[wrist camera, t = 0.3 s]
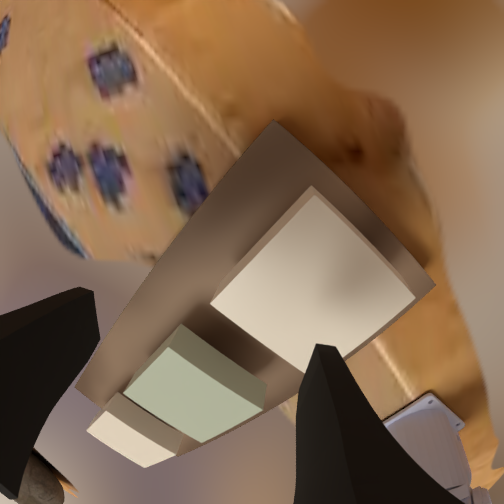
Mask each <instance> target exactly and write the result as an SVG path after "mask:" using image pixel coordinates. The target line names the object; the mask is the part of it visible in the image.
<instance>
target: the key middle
mask: <svg viewBox="0 0 504 504" xmlns="http://www.w3.org/2000/svg"><path fill="white" fill-rule="evenodd" d="M266 386H267V384H266V383H264V382H263V381H261V380H260V379H258V378H257V377H255V376H254V375H252V374H251V373H249V372H248V371H246V370H245V369H243V368H242V367H240V366H239V365H237V364H236V363H235V362H233V361H232V360H230V359H229V358H227V357H226V356H225V355H223V354H222V353H220V352H219V351H218V350H216V349H215V348H213V347H212V346H211V345H209V344H208V343H207V342H205V341H204V340H202V339H201V338H200V337H198V336H197V335H196V334H194V333H193V332H192V331H190V330H189V329H188V328H186V327H185V326H184V325H183V324H180V325H179V326H178V327H177V329H176V330H175V331H174V332H173V333H172V334H171V335H170V336H169V337H168V338H167V339H166V340H165V341H164V342H163V344H162V345H161V346H160V347H159V348H158V349H157V350H156V351H155V352H154V353H153V354H152V355H151V356H150V357H149V359H148V360H147V361H146V362H145V363H144V364H143V365H142V366H141V367H140V368H139V369H138V370H137V371H136V372H135V374H134V376H133V377H132V379H131V381H130V382H129V384H128V386H127V387H126V389H125V391H124V392H123V394H125V395H126V396H127V397H129V398H130V399H132V400H133V401H134V402H136V403H137V404H139V405H140V406H142V407H143V408H145V409H146V410H148V411H149V412H151V413H152V414H154V415H155V416H157V417H158V418H160V419H162V420H163V421H165V422H166V423H168V424H170V425H171V426H173V427H175V428H176V429H178V430H180V431H181V432H183V433H185V434H186V435H188V436H190V437H192V438H194V439H195V440H197V441H199V442H201V443H203V442H205V441H207V440H209V439H211V438H213V437H215V436H217V435H219V434H221V433H223V432H224V431H226V430H228V429H230V428H232V427H234V426H236V425H238V424H239V423H241V422H243V421H245V420H247V419H248V418H250V417H252V416H254V415H255V414H257V413H259V412H261V411H262V410H263V407H264V400H265V393H266Z"/></svg>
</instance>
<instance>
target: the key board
mask: <svg viewBox="0 0 504 504" xmlns="http://www.w3.org/2000/svg"><path fill="white" fill-rule="evenodd" d="M311 185H312V186H313V187H314V188H315V189H316V190H317V191H318V192H319V193H320V194H321V195H323V196H324V197H325V198H326V199H327V200H328V201H329V202H330V203H331V204H332V205H333V206H334V207H335V208H336V209H337V210H338V211H339V212H340V213H341V214H342V215H343V216H344V217H345V218H346V219H347V220H349V221H350V222H351V223H352V224H353V225H354V226H355V227H356V228H357V229H358V230H359V231H360V232H361V233H362V235H363V236H364V237H365V238H366V239H367V240H368V241H369V242H370V243H371V244H372V245H373V246H374V247H375V248H376V249H377V250H378V251H379V252H380V253H381V254H382V255H383V256H384V257H385V258H386V260H387V261H388V262H389V263H390V264H391V265H392V266H393V267H394V268H395V269H396V270H397V271H398V273H399V274H400V275H401V276H402V277H403V279H404V280H405V282H406V283H407V285H408V286H409V288H410V289H411V291H412V293H413V294H414V296H415V297H416V298H415V299H414V300H413V301H412V302H411V303H410V304H408V305H407V306H406V307H405V308H404V309H403V310H402V311H400V312H399V313H398V314H397V315H396V316H395V317H393V318H392V319H391V320H390V321H389V322H388V323H386V324H385V325H384V326H383V327H381V328H380V329H379V330H378V331H377V332H375V333H374V334H373V335H372V336H370V337H369V338H368V339H367V340H365V341H364V342H363V343H361V344H360V345H359V346H357V347H356V348H355V349H354V350H352V351H351V352H350V353H348V354H347V355H346V356H344V357H343V360H344V361H346V360H347V359H348V358H350V357H351V356H352V355H354V354H355V353H356V352H358V351H359V350H360V349H362V348H363V347H364V346H366V345H367V344H368V343H369V342H371V341H372V340H373V339H375V338H376V337H377V336H378V335H380V334H381V333H382V332H383V331H385V330H386V329H387V328H388V327H389V326H391V325H392V324H393V323H394V322H395V321H397V320H398V319H399V318H400V317H401V316H402V315H404V314H405V313H406V312H407V311H408V310H409V309H411V308H412V307H413V306H414V305H415V304H416V303H417V302H418V301H419V300H421V299H422V298H423V297H424V296H425V295H426V294H427V293H428V292H429V291H430V290H431V289H432V288H434V287H435V286H436V284H435V283H434V282H433V280H432V279H431V278H430V277H429V275H428V274H427V273H426V272H425V270H424V269H423V268H422V267H421V266H420V264H419V263H418V262H417V261H416V260H415V258H414V257H413V256H412V255H411V254H410V253H409V251H408V250H407V249H406V248H405V247H404V246H403V244H402V243H401V242H400V241H399V240H398V239H397V238H396V237H395V235H394V234H393V233H392V232H391V231H390V230H389V229H388V228H387V227H386V226H385V224H384V223H383V222H382V221H381V220H380V219H379V218H378V217H377V216H376V215H375V214H374V213H373V212H372V211H371V210H370V208H369V207H368V206H367V205H366V204H365V203H364V202H363V201H362V200H361V199H360V198H359V197H358V196H357V195H356V194H355V193H354V192H353V191H352V190H351V189H350V188H349V187H348V186H347V185H346V184H345V183H344V182H343V181H342V180H341V179H340V178H339V177H338V176H337V175H336V174H334V173H333V172H332V171H331V170H330V169H329V168H328V167H327V166H326V165H325V164H324V163H323V162H322V161H321V160H320V159H318V158H317V157H316V156H315V155H314V154H313V153H312V152H311V151H310V150H309V149H307V148H306V147H305V146H304V145H303V144H302V143H301V142H300V141H298V140H297V139H296V138H295V137H294V136H293V135H292V134H290V133H289V132H288V131H287V130H286V129H285V128H283V127H282V126H281V125H280V124H279V123H277V122H276V121H275V120H274V119H273V120H272V122H271V123H270V124H269V125H268V126H267V127H266V128H265V129H264V131H263V132H262V133H261V134H260V135H259V136H258V137H257V138H256V140H255V141H254V142H253V143H252V144H251V145H250V147H249V148H248V149H247V150H246V151H245V152H244V154H243V155H242V156H241V157H240V158H239V159H238V161H237V162H236V163H235V164H234V165H233V166H232V168H231V169H230V170H229V171H228V172H227V174H226V175H225V176H224V177H223V179H222V180H221V181H220V182H219V183H218V185H217V186H216V187H215V188H214V190H213V191H212V192H211V193H210V194H209V196H208V197H207V198H206V199H205V201H204V202H203V203H202V204H201V206H200V207H199V208H198V209H197V211H196V212H195V213H194V215H193V216H192V217H191V218H190V220H189V221H188V222H187V224H186V225H185V226H184V227H183V229H182V230H181V231H180V233H179V234H178V235H177V237H176V238H175V239H174V241H173V242H172V243H171V245H170V246H169V247H168V249H167V250H166V251H165V253H164V254H163V255H162V257H161V258H160V259H159V261H158V262H157V264H156V265H155V266H154V268H153V269H152V270H151V272H150V273H149V275H148V276H147V277H146V279H145V280H144V282H143V283H142V284H141V286H140V287H139V289H138V290H137V292H136V293H135V295H134V296H133V297H132V299H131V300H130V302H129V303H128V305H127V306H126V308H125V309H124V310H123V312H122V313H121V315H120V316H119V318H118V319H117V321H116V322H115V324H114V325H113V327H112V328H111V330H110V331H109V333H108V334H107V336H106V337H105V339H104V340H103V342H102V343H101V345H100V347H99V348H98V350H97V351H96V353H95V354H94V356H93V358H92V359H91V361H90V362H89V364H88V366H87V367H86V369H85V371H84V372H83V374H82V375H81V377H80V379H79V381H78V382H77V384H76V385H75V388H76V389H77V390H79V391H80V392H81V393H82V394H83V395H85V396H86V397H88V398H89V399H90V400H91V401H92V402H94V403H95V404H96V405H98V406H99V407H100V408H103V407H104V406H105V405H106V404H107V403H108V401H109V400H110V399H111V398H112V397H113V396H114V395H115V394H116V393H117V392H119V393H120V394H121V395H123V396H124V397H125V398H127V399H128V400H130V401H131V402H133V403H134V404H135V405H137V406H138V407H140V408H141V409H143V410H144V411H146V412H147V413H149V414H150V415H152V416H153V417H155V418H156V419H158V420H160V421H161V422H163V423H164V424H166V425H168V426H169V427H171V428H173V429H174V430H176V431H178V432H179V433H181V434H183V438H182V440H181V443H180V446H179V449H178V451H177V454H176V456H181V455H183V454H185V453H187V452H190V451H192V450H194V449H196V448H198V447H200V446H203V445H205V444H207V443H209V442H211V441H213V440H215V439H217V438H219V437H221V436H223V435H225V434H227V433H229V432H231V431H233V430H235V429H237V428H239V427H240V426H242V425H244V424H246V423H248V422H249V421H251V420H253V419H255V418H257V417H259V416H260V415H262V414H264V413H266V412H267V411H269V410H270V409H272V408H274V407H276V406H278V405H279V404H281V403H283V402H284V401H286V400H287V399H289V398H291V397H292V396H294V395H295V394H297V393H299V388H300V385H301V382H302V380H303V377H304V375H305V373H303V372H302V371H300V370H299V369H297V368H296V367H294V366H293V365H292V364H290V363H289V362H287V361H286V360H285V359H283V358H282V357H280V356H279V355H277V354H276V353H275V352H273V351H272V350H271V349H269V348H268V347H266V346H265V345H264V344H262V343H261V342H260V341H258V340H257V339H255V338H254V337H253V336H251V335H250V334H249V333H247V332H246V331H245V330H243V329H242V328H241V327H239V326H238V325H237V324H235V323H234V322H233V321H231V320H230V319H229V318H227V317H226V316H225V315H224V314H222V313H221V312H220V311H218V310H217V309H216V308H215V307H213V306H212V305H211V304H210V302H211V300H212V298H213V296H214V294H215V292H216V290H217V288H218V286H219V284H220V282H221V280H222V279H223V278H224V277H225V276H226V275H227V274H228V273H229V272H230V271H231V270H232V269H233V268H234V267H235V266H236V265H237V263H238V262H239V261H240V260H241V259H242V258H243V257H244V256H245V255H246V254H247V253H248V252H249V251H250V250H251V249H252V247H253V246H254V245H255V244H256V243H257V242H258V241H259V240H260V239H261V238H262V237H263V236H264V235H265V234H266V233H267V232H268V230H269V229H270V228H271V227H272V226H273V225H274V224H275V223H276V222H277V221H278V220H279V219H280V218H281V217H282V216H283V215H284V213H285V212H286V211H287V210H288V209H289V208H290V207H291V206H292V205H293V204H294V203H295V202H296V201H297V200H298V199H299V198H300V196H301V195H302V194H303V193H304V192H305V191H306V190H307V189H308V188H309V187H310V186H311ZM180 324H183V325H184V326H185V327H186V328H188V329H189V330H190V331H192V332H193V333H194V334H196V335H197V336H198V337H200V338H201V339H202V340H204V341H205V342H207V343H208V344H209V345H211V346H212V347H213V348H215V349H216V350H218V351H219V352H220V353H222V354H223V355H225V356H226V357H227V358H229V359H230V360H232V361H233V362H235V363H236V364H237V365H239V366H240V367H242V368H243V369H245V370H246V371H248V372H249V373H251V374H252V375H254V376H255V377H257V378H258V379H260V380H261V381H263V382H264V383H266V384H267V386H266V393H265V400H264V407H263V410H262V411H261V412H259V413H257V414H255V415H254V416H252V417H250V418H248V419H247V420H245V421H243V422H241V423H239V424H238V425H236V426H234V427H232V428H230V429H228V430H226V431H224V432H223V433H221V434H219V435H217V436H215V437H213V438H211V439H209V440H207V441H205V442H203V443H201V442H199V441H197V440H195V439H194V438H192V437H190V436H188V435H186V434H185V433H183V432H181V431H180V430H178V429H176V428H175V427H173V426H171V425H170V424H168V423H166V422H165V421H163V420H162V419H160V418H158V417H157V416H155V415H154V414H152V413H151V412H149V411H148V410H146V409H145V408H143V407H142V406H140V405H139V404H137V403H136V402H134V401H133V400H132V399H130V398H129V397H127V396H126V395H125V394H123V392H124V391H125V389H126V387H127V386H128V384H129V382H130V381H131V379H132V377H133V376H134V374H135V372H136V371H137V370H138V369H139V368H140V367H141V366H142V365H143V364H144V363H145V362H146V361H147V360H148V359H149V357H150V356H151V355H152V354H153V353H154V352H155V351H156V350H157V349H158V348H159V347H160V346H161V345H162V344H163V342H164V341H165V340H166V339H167V338H168V337H169V336H170V335H171V334H172V333H173V332H174V331H175V330H176V329H177V327H178V326H179V325H180Z"/></svg>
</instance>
